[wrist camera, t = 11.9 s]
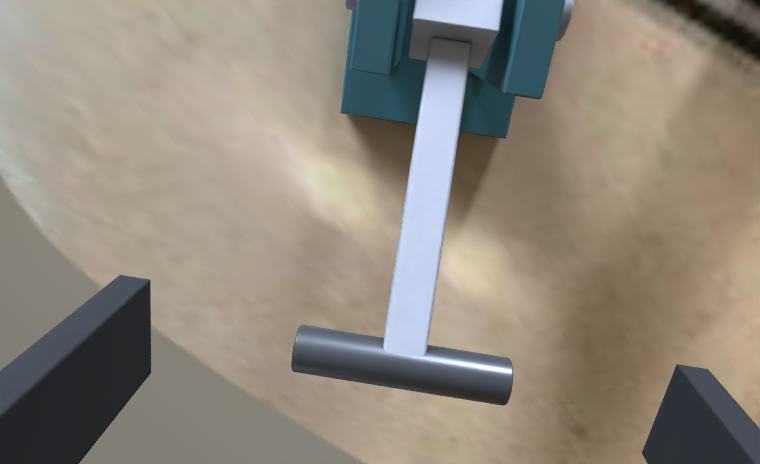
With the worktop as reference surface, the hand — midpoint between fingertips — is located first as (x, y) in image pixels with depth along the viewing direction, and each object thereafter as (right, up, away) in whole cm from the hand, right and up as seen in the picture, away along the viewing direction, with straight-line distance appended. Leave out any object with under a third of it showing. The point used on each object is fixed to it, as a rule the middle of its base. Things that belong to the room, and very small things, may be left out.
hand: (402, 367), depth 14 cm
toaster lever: (+1, +5, +2) cm, 6 cm away
